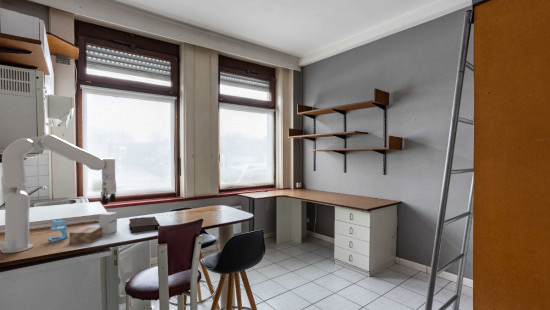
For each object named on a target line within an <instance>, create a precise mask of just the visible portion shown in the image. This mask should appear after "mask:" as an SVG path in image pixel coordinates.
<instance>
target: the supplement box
mask: <svg viewBox="0 0 550 310" xmlns="http://www.w3.org/2000/svg"><path fill="white" fill-rule="evenodd" d="M98 218H99V219H98V220H99V221H98V227H102V235H110V234H113V233H116V232H117V231H118V212H113V211H108V212H104V213H100V214H99V217H98Z"/></svg>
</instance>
